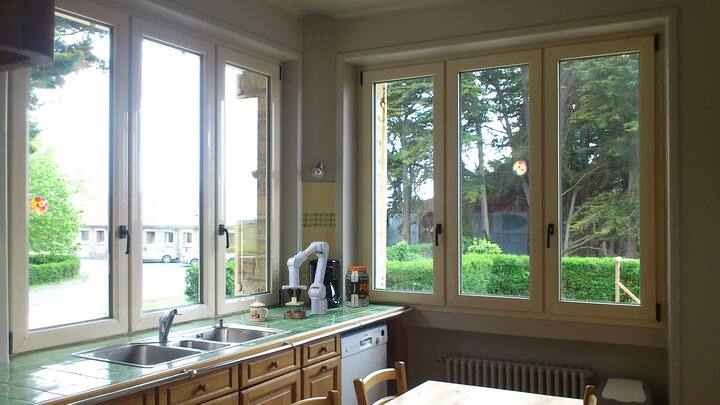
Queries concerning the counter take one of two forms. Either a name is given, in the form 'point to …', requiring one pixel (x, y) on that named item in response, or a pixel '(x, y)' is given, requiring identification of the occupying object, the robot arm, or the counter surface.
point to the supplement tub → (357, 287)
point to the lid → (294, 302)
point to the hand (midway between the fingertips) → (294, 301)
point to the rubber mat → (277, 315)
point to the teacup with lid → (258, 312)
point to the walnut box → (295, 314)
